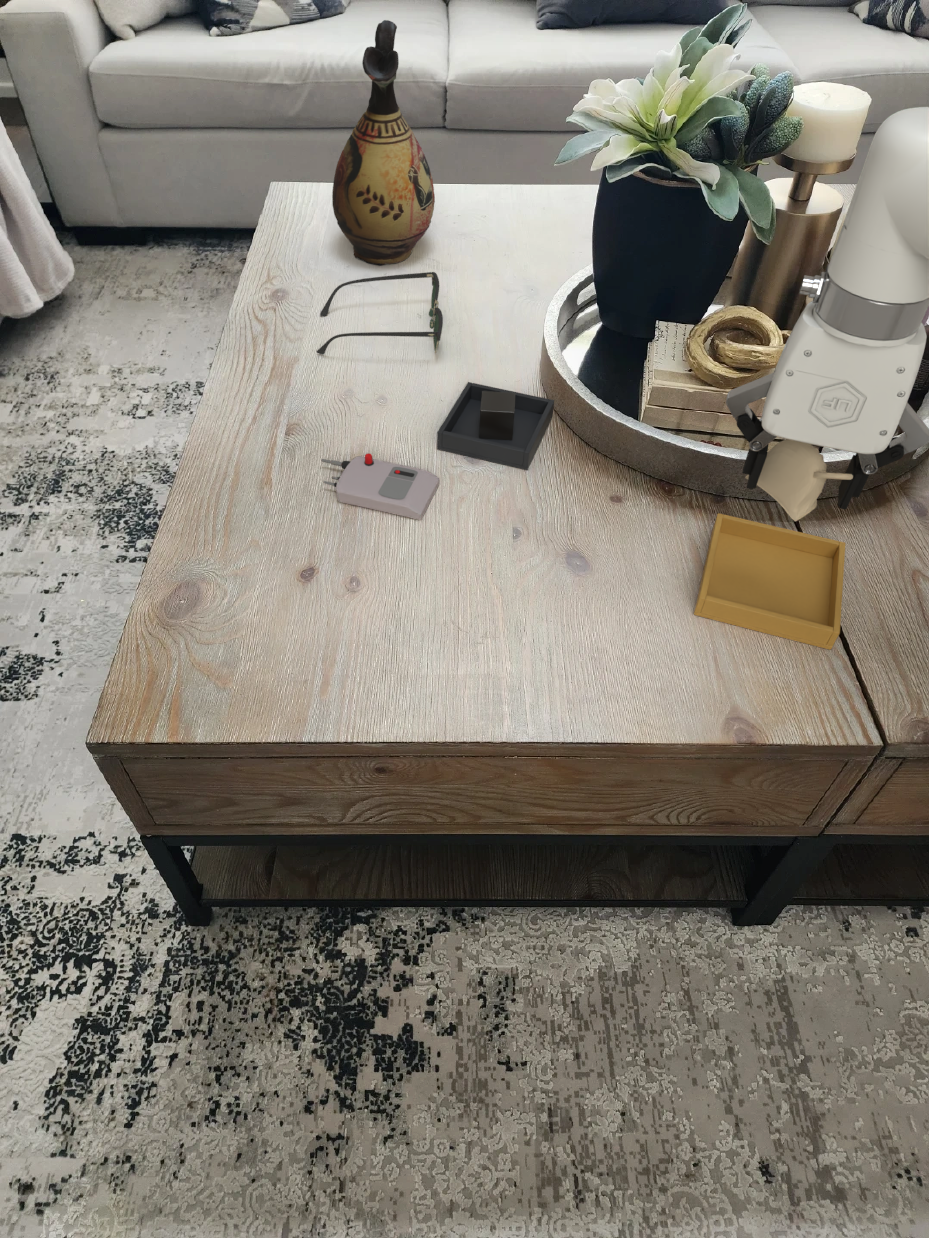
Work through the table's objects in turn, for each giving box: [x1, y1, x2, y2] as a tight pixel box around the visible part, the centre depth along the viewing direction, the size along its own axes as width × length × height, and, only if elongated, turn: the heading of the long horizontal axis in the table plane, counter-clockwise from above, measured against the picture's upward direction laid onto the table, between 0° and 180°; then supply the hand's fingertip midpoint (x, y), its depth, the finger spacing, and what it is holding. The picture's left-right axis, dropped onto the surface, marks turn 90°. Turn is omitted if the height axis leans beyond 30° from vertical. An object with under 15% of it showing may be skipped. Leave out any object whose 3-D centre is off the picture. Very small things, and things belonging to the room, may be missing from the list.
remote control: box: [320, 452, 453, 521], centre depth 94 cm, size 7×16×3 cm, turn 73°
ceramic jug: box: [331, 19, 436, 266], centre depth 123 cm, size 17×15×30 cm
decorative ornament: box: [744, 439, 853, 522], centre depth 75 cm, size 4×8×5 cm, turn 26°
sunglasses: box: [316, 271, 444, 355], centre depth 116 cm, size 16×17×5 cm
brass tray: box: [693, 513, 846, 651], centre depth 86 cm, size 13×13×2 cm
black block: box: [479, 391, 515, 440], centre depth 101 cm, size 4×4×4 cm
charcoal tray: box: [436, 381, 555, 471], centre depth 102 cm, size 11×11×2 cm
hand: (796, 488), depth 76 cm, fingers closed on decorative ornament, 7 cm apart
